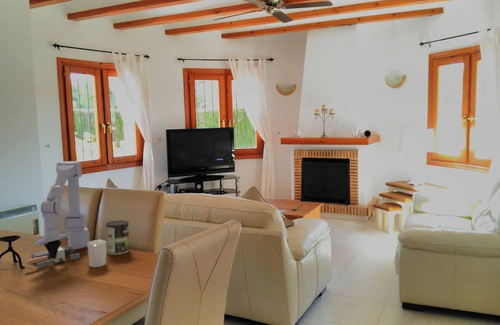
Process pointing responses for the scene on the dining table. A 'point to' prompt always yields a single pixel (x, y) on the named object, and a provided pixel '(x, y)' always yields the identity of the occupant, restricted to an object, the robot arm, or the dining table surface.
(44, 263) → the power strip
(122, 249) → the coffee can
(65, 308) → the dining table surface
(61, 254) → the plug
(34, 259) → the latch
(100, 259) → the white cup
